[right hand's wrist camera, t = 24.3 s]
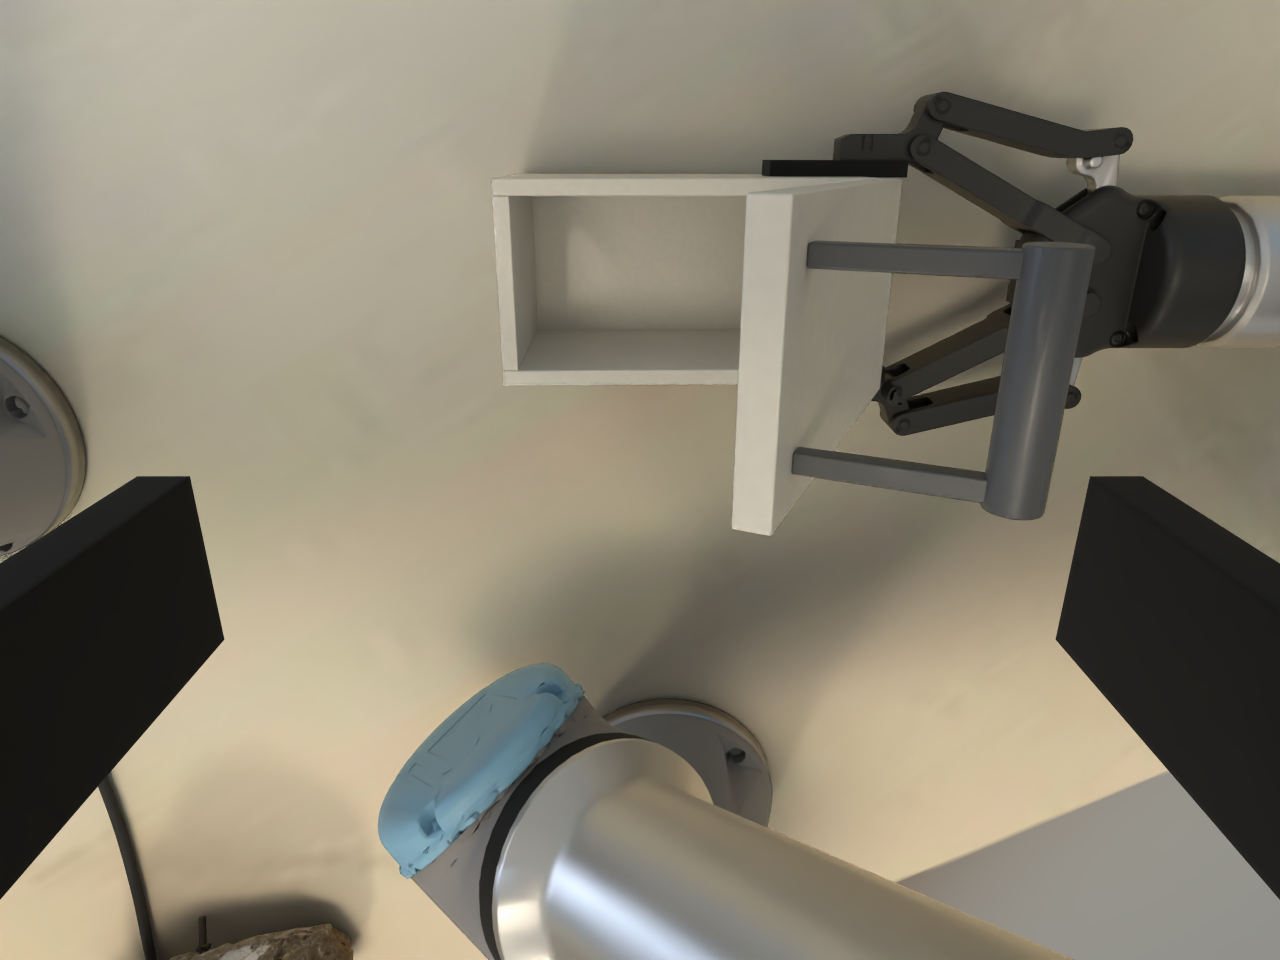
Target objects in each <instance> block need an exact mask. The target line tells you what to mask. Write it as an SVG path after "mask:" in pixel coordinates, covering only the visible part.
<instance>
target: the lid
mask: <svg viewBox="0 0 1280 960" xmlns="http://www.w3.org/2000/svg"><path fill="white" fill-rule="evenodd" d="M901 188H902V179H890V178H874V179H865V180H856V181H847V182H838V183H829V184H820V185H812V186H803V187H794V188H785V189H776V190H767V191H758V192H749V193H747V196H746V219H745V241H744V263H743V286H742V308H741V330H740V352H739V375H738V397H737V419H736V442H735V464H734V486H733V509H732V529H735V530H740V531H746V532H751V533H757V534H762V535H768V536H771V535H772V534H773V533H774V531H775V530H776V529H777V527H778V526H779V525H780V523H781V522H782V520H783V519H784V518H785V516H786V515H787V514H788V512H789V511H790V510H791V508H792V507H793V506H794V504H795V503H796V501H797V500H798V499H799V497H800V496H801V495H802V493H803V492H804V491H805V489H806V488H807V487H808V485H809V484H810V483H811V481H812V480H813V478H821V479H827V480H834V481H840V482H847V483H853V484H860V485H867V486H873V487H880V488H886V489H893V490H899V491H906V492H913V493H919V494H926V495H932V496H939V497H945V498H952V499H958V500H965V501H972V502H978V503H981V506H982V508H983V509H984V510H986V511H987V512H989V513H991V514H993V515H996V516H999V517H1003V518H1008V519H1014V520H1033V519H1038V518H1040V517H1042V516H1043V514H1044V513H1045V507H1046V502H1047V497H1048V492H1049V487H1050V482H1051V476H1052V471H1053V466H1054V461H1055V456H1056V451H1057V445H1058V440H1059V435H1060V430H1061V425H1062V420H1063V414H1064V409H1065V404H1066V399H1067V394H1068V389H1069V383H1070V378H1071V373H1072V368H1073V363H1074V357H1075V352H1076V347H1077V342H1078V337H1079V332H1080V326H1081V321H1082V316H1083V311H1084V306H1085V301H1086V295H1087V290H1088V285H1089V280H1090V275H1091V270H1092V264H1093V259H1094V254H1095V247H1094V246H1092V245H1088V244H1081V243H1068V242H1028V243H1024V244H1023V245H1022V249H1020V248H995V247H970V246H945V245H920V244H896V235H897V225H898V216H899V207H900V198H901ZM892 273H901V274H920V275H939V276H958V277H976V278H995V279H1014V280H1016V286H1015V292H1014V299H1013V305H1012V311H1011V317H1010V323H1009V329H1008V336H1007V342H1006V348H1005V354H1004V360H1003V366H1002V373H1001V379H1000V385H999V391H998V397H997V403H996V410H995V416H994V422H993V428H992V434H991V440H990V447H989V453H988V459H987V465H986V471H985V472H979V471H972V470H964V469H957V468H950V467H943V466H936V465H928V464H921V463H914V462H907V461H900V460H892V459H885V458H878V457H871V456H864V455H856V454H849V453H842V452H835V451H834V450H835V449H836V447H837V446H838V445H839V443H840V442H841V440H842V439H843V438H844V436H845V435H846V434H847V432H848V431H849V430H850V428H851V427H852V426H853V424H854V423H855V421H856V420H857V419H858V417H859V416H860V415H861V413H862V412H863V411H864V409H865V408H866V407H867V405H868V404H869V402H870V401H871V400H872V398H873V397H874V396H875V394H876V393H877V392H878V390H879V389H880V382H881V373H882V363H883V354H884V345H885V336H886V327H887V317H888V308H889V299H890V290H891V281H892Z"/></svg>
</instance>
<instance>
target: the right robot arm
mask: <svg viewBox="0 0 1280 960" xmlns="http://www.w3.org/2000/svg"><path fill="white" fill-rule="evenodd" d="M84 476H85V452H84V445H83V440H82V436H81V432H80V429H79V426H78V423H77V421H76V419H75V416H74V414H73V412H72V410H71V408H70V406H69V404H68V403H67V401H66V399H65V398H64V396H63V395H62V393H61V392H60V390H59V389H58V387H57V386H56V385H55V384H54V382H53V381H52V380H51V378H50V377H49V376H48V375H47V374H46V373H45V372H44V371H43V370H42V369H41V368H40V367H39V366H38V365H37V364H36V363H35V362H34V361H33V360H32V359H31V358H30V357H28V356H27V355H26V354H25V353H23V352H22V351H21V350H20V349H18V348H17V347H15V346H14V345H12V344H11V343H10V342H8V341H6V340H5V339H3V338H1V337H0V556H2V555H5V554H9V553H12V552H15V551H17V550H20V549H22V548H24V547H26V546H27V547H26V548H24V549H22V550H21V551H19V552H18V553H16V554H15V555H13V556H11V557H10V558H8V559H7V560H5V561H4V562H2V563H0V899H1V898H2V897H3V896H4V895H5V893H6V892H7V891H8V890H9V889H10V888H11V886H12V885H13V884H14V883H15V882H16V881H17V880H18V878H19V877H20V876H21V875H22V874H23V873H24V871H25V870H26V869H27V868H28V867H29V866H30V864H31V863H32V862H33V861H34V860H35V859H36V857H37V856H38V855H39V854H40V853H41V852H42V850H43V849H44V848H45V847H46V846H47V845H48V844H49V842H50V841H51V840H52V839H53V838H54V837H55V835H56V834H57V833H58V832H59V831H60V830H61V828H62V827H63V826H64V825H65V824H66V823H67V821H68V820H69V819H70V818H71V817H72V816H73V814H74V813H75V812H76V811H77V810H78V809H79V808H80V806H81V805H82V804H83V803H84V802H85V801H86V799H87V798H88V797H89V796H90V795H91V794H92V792H93V791H94V790H95V789H96V788H97V787H98V788H99V790H100V793H101V795H102V798H103V801H104V803H105V806H106V809H107V811H108V814H109V817H110V820H111V823H112V826H113V829H114V832H115V835H116V838H117V841H118V845H119V848H120V852H121V855H122V859H123V862H124V866H125V870H126V874H127V877H128V881H129V885H130V889H131V893H132V897H133V901H134V906H135V910H136V915H137V920H138V925H139V930H140V935H141V940H142V945H143V949H144V954H145V958H146V960H157V955H156V950H155V946H154V941H153V936H152V931H151V926H150V921H149V916H148V910H147V906H146V901H145V896H144V892H143V888H142V883H141V879H140V876H139V872H138V868H137V864H136V860H135V856H134V853H133V849H132V845H131V842H130V838H129V835H128V832H127V828H126V825H125V822H124V819H123V816H122V813H121V810H120V807H119V805H118V802H117V799H116V796H115V794H114V791H113V788H112V786H111V783H110V781H109V778H108V774H109V773H110V772H111V770H112V769H113V768H114V767H115V766H116V765H117V763H118V762H119V761H120V760H121V759H122V758H123V756H124V755H125V754H126V753H127V752H128V751H129V749H130V748H131V747H132V746H133V745H134V744H135V743H136V741H137V740H138V739H139V738H140V737H141V736H142V734H143V733H144V732H145V731H146V730H147V729H148V727H149V726H150V725H151V724H152V723H153V722H154V720H155V719H156V718H157V717H158V716H159V715H160V714H161V712H162V711H163V710H164V709H165V708H166V707H167V705H168V704H169V703H170V702H171V701H172V700H173V698H174V697H175V696H176V695H177V694H178V693H179V691H180V690H181V689H182V688H183V687H184V686H185V684H186V683H187V682H188V681H189V680H190V679H191V678H192V676H193V675H194V674H195V673H196V672H197V671H198V669H199V668H200V667H201V666H202V665H203V664H204V662H205V661H206V660H207V659H208V658H209V657H210V655H211V654H212V653H213V652H214V651H215V650H216V649H217V647H218V646H219V645H220V644H221V643H222V642H223V640H224V636H223V631H222V626H221V622H220V617H219V612H218V607H217V603H216V598H215V593H214V589H213V584H212V579H211V574H210V570H209V565H208V560H207V555H206V551H205V546H204V541H203V537H202V532H201V527H200V522H199V518H198V513H197V508H196V503H195V499H194V494H193V489H192V485H191V480H190V476H137V477H136V478H134V479H133V480H131V481H129V482H128V483H126V484H125V485H123V486H121V487H120V488H118V489H117V490H115V491H114V492H112V493H110V494H109V495H107V496H106V497H104V498H103V499H101V500H99V501H98V502H96V503H95V504H93V505H92V506H90V507H88V508H87V509H85V510H84V511H82V512H81V513H79V514H77V515H76V516H74V517H73V518H71V519H70V520H68V521H66V522H65V523H63V524H62V525H60V526H59V527H57V526H58V525H59V524H60V523H61V522H63V521H64V519H65V518H66V517H67V516H68V515H69V514H70V512H71V511H72V509H73V508H74V506H75V504H76V502H77V500H78V498H79V496H80V493H81V490H82V486H83V482H84ZM56 527H57V528H56ZM54 528H55V529H54ZM53 529H54V530H53ZM50 531H51V532H50ZM47 533H48V534H47ZM42 536H43V537H42ZM39 538H40V539H39ZM36 540H37V541H36ZM31 543H32V544H31ZM28 545H29V546H28ZM1056 640H1057V642H1058V643H1059V644H1060V645H1061V646H1062V647H1063V649H1064V650H1065V651H1066V652H1067V653H1068V654H1069V655H1070V657H1071V658H1072V659H1073V660H1074V661H1075V662H1076V664H1077V665H1078V666H1079V667H1080V668H1081V669H1082V671H1083V672H1084V673H1085V674H1086V675H1087V676H1088V678H1089V679H1090V680H1091V681H1092V682H1093V683H1094V684H1095V686H1096V687H1097V688H1098V689H1099V690H1100V691H1101V693H1102V694H1103V695H1104V696H1105V697H1106V698H1107V700H1108V701H1109V702H1110V703H1111V704H1112V705H1113V707H1114V708H1115V709H1116V710H1117V711H1118V712H1119V714H1120V715H1121V716H1122V717H1123V718H1124V719H1125V720H1126V722H1127V723H1128V724H1129V725H1130V726H1131V727H1132V729H1133V730H1134V731H1135V732H1136V733H1137V734H1138V736H1139V737H1140V738H1141V739H1142V740H1143V741H1144V743H1145V744H1146V745H1147V746H1148V747H1149V748H1150V749H1151V751H1152V752H1153V753H1154V754H1155V755H1156V756H1157V758H1158V759H1159V760H1160V761H1161V762H1162V763H1163V765H1164V766H1165V767H1166V768H1167V769H1168V770H1169V772H1170V773H1171V774H1172V775H1173V776H1174V777H1175V779H1176V780H1177V781H1178V782H1179V783H1180V784H1181V785H1182V787H1183V788H1184V789H1185V790H1186V791H1187V792H1188V794H1189V795H1190V796H1191V797H1192V798H1193V799H1194V801H1195V802H1196V803H1197V804H1198V805H1199V806H1200V808H1201V809H1202V810H1203V811H1204V812H1205V813H1206V814H1207V816H1208V817H1209V818H1210V819H1211V820H1212V821H1213V823H1214V824H1215V825H1216V826H1217V827H1218V828H1219V830H1220V831H1221V832H1222V833H1223V834H1224V835H1225V837H1226V838H1227V839H1228V840H1229V841H1230V842H1231V843H1232V845H1233V846H1234V847H1235V848H1236V849H1237V850H1238V852H1239V853H1240V854H1241V855H1242V856H1243V857H1244V859H1245V860H1246V861H1247V862H1248V863H1249V864H1250V866H1251V867H1252V868H1253V869H1254V870H1255V871H1256V873H1257V874H1258V875H1259V876H1260V877H1261V878H1262V880H1263V881H1264V882H1265V883H1266V884H1267V885H1268V886H1269V888H1270V889H1271V890H1272V891H1273V892H1274V893H1275V895H1276V896H1277V897H1278V898H1279V899H1280V563H1278V562H1276V561H1275V560H1273V559H1272V558H1270V557H1269V556H1267V555H1265V554H1264V553H1262V552H1261V551H1259V550H1258V549H1256V548H1254V547H1253V546H1251V545H1250V544H1248V543H1247V542H1245V541H1243V540H1242V539H1240V538H1239V537H1237V536H1236V535H1234V534H1232V533H1231V532H1229V531H1228V530H1226V529H1225V528H1223V527H1221V526H1220V525H1218V524H1217V523H1215V522H1214V521H1212V520H1210V519H1209V518H1207V517H1206V516H1204V515H1203V514H1201V513H1199V512H1198V511H1196V510H1195V509H1193V508H1192V507H1190V506H1188V505H1187V504H1185V503H1184V502H1182V501H1181V500H1179V499H1177V498H1176V497H1174V496H1173V495H1171V494H1170V493H1168V492H1166V491H1165V490H1163V489H1162V488H1160V487H1159V486H1157V485H1155V484H1154V483H1152V482H1151V481H1149V480H1147V479H1146V478H1144V477H1143V476H1090V480H1089V485H1088V489H1087V494H1086V499H1085V503H1084V508H1083V513H1082V518H1081V522H1080V527H1079V532H1078V537H1077V541H1076V546H1075V551H1074V555H1073V560H1072V565H1071V570H1070V574H1069V579H1068V584H1067V589H1066V593H1065V598H1064V603H1063V607H1062V612H1061V617H1060V622H1059V626H1058V631H1057V636H1056Z"/></svg>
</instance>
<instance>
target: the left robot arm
mask: <svg viewBox="0 0 1280 960" xmlns="http://www.w3.org/2000/svg"><path fill="white" fill-rule="evenodd" d="M943 128H945V129H949V130H952V131H956V132H960V133H963V134H967V135H970V136H974V137H977V138H981V139H985V140H988V141H992V142H995V143H999V144H1002V145H1006V146H1009V147H1013V148H1017V149H1020V150H1024V151H1027V152H1031V153H1034V154H1038V155H1042V156H1046V157H1052V158H1068V159H1067V167H1068V169H1069V171H1070V172H1071V173H1073V174H1077V175H1081V176H1083V177H1084V178H1085V179H1086V182H1087V188H1085V189H1084V190H1082V191H1081V192H1079V193H1078V194H1076V195H1075V196H1073V197H1072V198H1070V199H1069V200H1067V201H1066V202H1064V203H1063V204H1061V205H1060V206H1058V207H1057V208H1055V209H1054V208H1052V207H1051V206H1049V205H1047V204H1045V203H1042V202H1040V201H1038V200H1035V199H1034V198H1032V197H1030V196H1029V195H1027V194H1026V193H1024V192H1022V191H1021V190H1019V189H1017V188H1016V187H1014V186H1012V185H1011V184H1009V183H1007V182H1006V181H1004V180H1003V179H1001V178H999V177H998V176H996V175H994V174H993V173H991V172H989V171H988V170H986V169H985V168H983V167H981V166H980V165H978V164H976V163H975V162H973V161H971V160H970V159H968V158H966V157H965V156H963V155H962V154H960V153H958V152H957V151H955V150H953V149H952V148H950V147H948V146H947V145H945V144H944V143H942V142H940V141H939V140H938V137H939V135H940V133H941V131H942V129H943ZM1132 142H1133V134H1132V132H1131V131H1130V130H1129V129H1127V128H1123V127H1119V128H1102V129H1090V130H1079V129H1075V128H1072V127H1068V126H1065V125H1061V124H1057V123H1054V122H1050V121H1047V120H1043V119H1040V118H1036V117H1033V116H1029V115H1026V114H1022V113H1019V112H1015V111H1012V110H1008V109H1005V108H1001V107H998V106H994V105H991V104H987V103H984V102H980V101H977V100H973V99H970V98H966V97H963V96H959V95H956V94H952V93H949V92H940V93H935V94H930V95H926V96H923V97H921V98H919V99H918V100H917V102H916V103H915V105H914V114H913V116H912V118H911V121H910V123H909V125H908V126H907V128H906V129H905V130H904V131H902V132H901V133H899V134H848V135H844V136H841V137H839V138H836V139H835V140H834V153H833V160H763V163H762V176H769V177H907V171H908V164H909V165H910V166H912V167H914V168H915V169H917V170H919V171H921V172H922V173H924V174H926V175H927V176H929V177H931V178H932V179H934V180H936V181H937V182H939V183H941V184H942V185H944V186H946V187H947V188H949V189H951V190H952V191H954V192H956V193H957V194H959V195H961V196H962V197H964V198H966V199H967V200H969V201H971V202H972V203H974V204H976V205H977V206H979V207H981V208H982V209H984V210H986V211H987V212H989V213H991V214H992V215H994V216H996V217H997V218H999V219H1000V220H1001V221H1002V222H1003V223H1005V224H1006V225H1008V226H1010V227H1011V228H1013V229H1015V230H1016V231H1018V232H1020V233H1021V234H1023V235H1022V237H1021V239H1020V240H1016V242H1015V248H1020V249H1022V245H1023V244H1024V243H1028V242H1068V243H1081V244H1088V245H1092V246H1094V247H1095V254H1094V259H1093V264H1092V270H1091V275H1090V280H1089V285H1088V290H1087V295H1086V301H1085V306H1084V311H1083V316H1082V321H1081V326H1080V332H1079V337H1078V342H1077V347H1076V352H1075V357H1074V363H1073V368H1072V373H1071V378H1070V383H1069V389H1068V394H1067V399H1066V404H1065V409H1070V408H1073V407H1075V406H1076V405H1077V404H1078V403H1079V401H1080V400H1081V393H1080V390H1079V389H1078V388H1076V387H1074V384H1075V380H1076V377H1077V374H1078V370H1079V367H1080V364H1081V361H1082V357H1086V356H1089V355H1091V354H1093V353H1095V352H1097V351H1099V350H1102V349H1106V348H1187V347H1191V346H1194V345H1195V346H1197V347H1200V348H1262V347H1276V348H1278V347H1280V196H1225V197H1220V198H1216V197H1213V196H1134V195H1131V194H1129V193H1127V192H1126V191H1124V190H1123V189H1121V188H1119V187H1117V178H1118V168H1119V158H1120V154H1123V153H1125V152H1126V151H1128V150H1129V148H1130V147H1131V145H1132ZM1015 286H1016V280H1014V279H1011V281H1010V284H1009V286H1008V292H1007V299H1006V301H1008V302H1010V304H1008V305H1006V306H1004V307H1002V308H1000V309H998V310H996V311H994V312H992V313H990V314H989V315H988V316H987V318H986V319H985V320H983V321H981V322H979V323H977V324H975V325H972V326H970V327H968V328H966V329H964V330H962V331H960V332H958V333H956V334H954V335H952V336H950V337H948V338H946V339H944V340H942V341H940V342H938V343H936V344H934V345H931V346H929V347H927V348H925V349H923V350H921V351H919V352H917V353H915V354H913V355H911V356H909V357H907V358H905V359H903V360H901V361H899V362H897V363H895V364H893V365H890V366H888V367H886V368H884V367H883V366H882V373H881V382H880V389H879V390H878V392H877V393H876V394H875V396H874V397H873V398H872V400H871V401H877V402H878V403H879V406H880V416H881V418H882V419H883V420H884V421H885V423H886V424H887V425H888V426H889V427H890V428H891V429H892V430H893V431H894V432H895V433H896V434H897V435H900V436H905V435H909V434H914V433H918V432H923V431H927V430H931V429H936V428H940V427H944V426H949V425H953V424H957V423H962V422H966V421H970V420H975V419H979V418H983V417H988V416H992V415H995V410H996V403H997V397H998V391H999V385H1000V379H1001V376H998V377H994V378H990V379H985V380H981V381H977V382H973V383H968V384H964V385H960V386H955V387H951V388H947V389H943V390H938V391H934V392H930V393H926V394H921V395H917V396H913V395H915V394H918V393H920V392H922V391H924V390H926V389H928V388H930V387H932V386H934V385H936V384H938V383H941V382H943V381H945V380H947V379H949V378H951V377H953V376H955V375H957V374H959V373H961V372H963V371H966V370H968V369H970V368H972V367H974V366H976V365H978V364H980V363H982V362H984V361H986V360H989V359H991V358H993V357H995V356H997V355H999V354H1001V353H1003V352H1005V348H1006V342H1007V336H1008V329H1009V323H1010V317H1011V311H1012V305H1013V299H1014V292H1015ZM911 396H913V397H911ZM584 692H585V691H583V689H582V686H581V685H579V684H574V683H573V681H572V680H571V679H570V678H569V677H568V676H567V675H566V673H565V672H564V671H563V670H562V669H560V668H559V667H557V666H554V665H551V664H543V663H542V664H533V665H529V666H525V667H523V668H520V669H517V670H515V671H513V672H511V673H509V674H507V675H505V676H503V677H501V678H500V679H498V680H496V681H495V682H493V683H492V684H490V685H489V686H487V687H486V688H484V689H482V690H481V691H480V692H478V693H477V694H476V695H474V696H473V697H472V698H470V699H469V700H468V701H466V702H465V703H464V704H463V705H462V706H461V707H459V708H458V709H457V710H456V711H455V712H454V713H452V714H451V715H450V716H449V717H448V718H447V719H446V720H445V721H444V722H443V723H442V724H441V725H439V726H438V727H437V728H436V729H435V730H434V731H433V732H432V734H431V735H430V736H429V737H428V738H427V739H426V740H425V741H424V742H423V743H422V744H421V745H420V747H419V748H418V749H417V750H416V751H415V753H414V754H413V755H412V756H411V757H410V759H409V760H408V761H407V762H406V764H405V765H404V766H403V768H402V769H401V771H400V772H399V774H398V775H397V777H396V779H395V781H394V782H393V784H392V785H391V787H390V788H389V790H388V792H387V794H386V796H385V799H384V801H383V804H382V806H381V809H380V813H379V818H378V833H379V837H380V840H381V842H382V844H383V846H384V847H385V849H386V850H387V851H388V852H389V853H390V855H391V856H392V857H393V858H394V859H395V860H396V862H397V863H398V864H399V865H400V874H401V875H403V876H404V877H406V878H407V879H409V878H411V879H412V880H413V881H414V882H415V883H416V884H417V885H418V886H419V887H420V888H421V889H422V890H423V891H424V892H425V893H426V894H427V895H428V897H429V898H430V899H431V900H432V901H433V902H434V903H435V904H436V905H437V906H438V907H439V908H440V909H441V910H442V911H443V912H444V913H445V914H446V915H447V917H448V918H449V919H450V920H451V921H452V922H453V923H454V924H455V925H456V926H457V927H458V928H459V929H460V930H461V931H462V932H463V933H464V934H465V936H466V937H467V938H468V939H469V940H470V941H471V942H472V943H473V944H474V945H475V946H476V947H477V948H478V949H479V950H480V951H481V952H482V953H483V954H484V956H485V957H486V958H487V959H488V960H1074V959H1071V958H1069V957H1067V956H1064V955H1062V954H1060V953H1057V952H1055V951H1053V950H1050V949H1048V948H1046V947H1043V946H1041V945H1039V944H1037V943H1034V942H1032V941H1030V940H1027V939H1025V938H1023V937H1020V936H1018V935H1015V934H1013V933H1011V932H1009V931H1006V930H1004V929H1002V928H999V927H997V926H995V925H992V924H990V923H988V922H985V921H983V920H981V919H978V918H976V917H974V916H971V915H969V914H967V913H964V912H962V911H960V910H957V909H955V908H953V907H950V906H948V905H946V904H943V903H941V902H939V901H936V900H934V899H932V898H929V897H927V896H925V895H922V894H920V893H918V892H915V891H913V890H911V889H908V888H906V887H904V886H901V885H899V884H897V883H895V882H892V881H890V880H888V879H885V878H883V877H881V876H878V875H876V874H874V873H871V872H869V871H867V870H864V869H862V868H860V867H857V866H855V865H853V864H850V863H848V862H846V861H843V860H841V859H839V858H836V857H834V856H832V855H829V854H827V853H825V852H822V851H820V850H818V849H815V848H813V847H811V846H808V845H806V844H804V843H801V842H799V841H797V840H794V839H792V838H790V837H787V836H785V835H783V834H781V833H778V832H776V831H774V830H771V829H769V828H767V826H768V821H769V817H770V812H771V804H772V786H771V780H770V775H769V770H768V766H767V762H766V759H765V756H764V753H763V751H762V749H761V747H760V745H759V744H758V742H757V741H756V739H755V738H754V737H753V736H752V734H751V733H750V732H749V731H748V730H747V729H746V728H745V727H744V726H743V725H742V724H740V723H739V722H738V721H737V720H735V719H734V718H732V717H731V716H729V715H728V714H726V713H724V712H722V711H720V710H718V709H715V708H713V707H710V706H707V705H704V704H701V703H697V702H692V701H686V700H678V699H658V700H650V701H644V702H639V703H635V704H632V705H628V706H626V707H623V708H620V709H618V710H616V711H614V712H612V713H610V714H608V715H606V716H605V717H603V718H602V717H601V716H600V715H599V714H598V713H597V712H596V711H595V710H594V708H593V707H592V706H591V704H590V703H589V702H588V700H587V699H586V698H585V697H584Z"/></svg>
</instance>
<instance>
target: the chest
mask: <svg viewBox="0 0 1280 960" xmlns="http://www.w3.org/2000/svg"><path fill="white" fill-rule="evenodd" d="M865 179H874V177H769V176H762V174H515V175H509V176H502V177H496V178H492V179H491V188H492V195H493V196H492V206H493V223H494V240H495V256H496V273H497V289H498V306H499V322H500V339H501V355H502V370H503V385H504V386H563V385H738V375H739V352H740V330H741V308H742V286H743V263H744V241H745V219H746V196H747V193H749V192H758V191H767V190H776V189H785V188H794V187H803V186H812V185H820V184H829V183H838V182H847V181H856V180H865Z"/></svg>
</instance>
